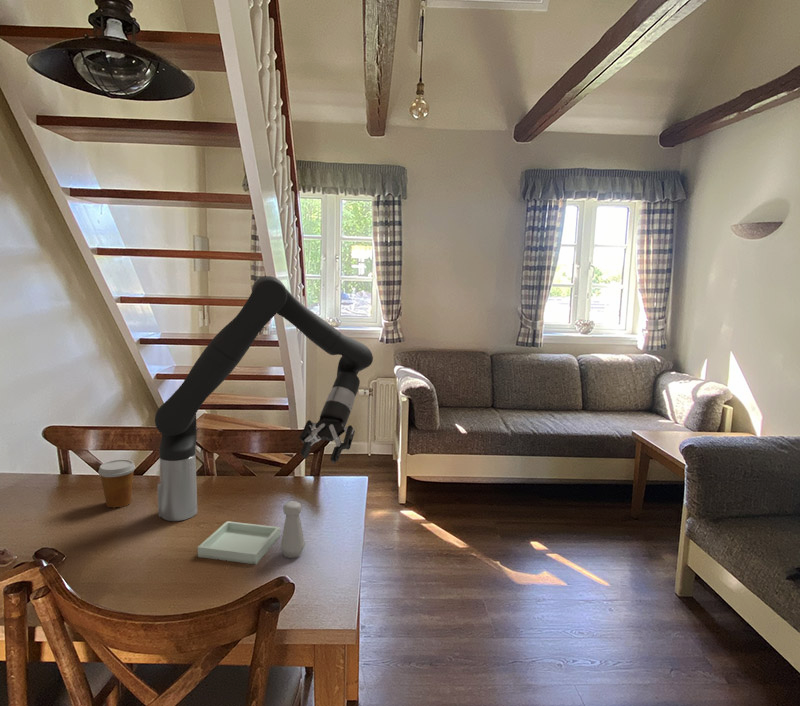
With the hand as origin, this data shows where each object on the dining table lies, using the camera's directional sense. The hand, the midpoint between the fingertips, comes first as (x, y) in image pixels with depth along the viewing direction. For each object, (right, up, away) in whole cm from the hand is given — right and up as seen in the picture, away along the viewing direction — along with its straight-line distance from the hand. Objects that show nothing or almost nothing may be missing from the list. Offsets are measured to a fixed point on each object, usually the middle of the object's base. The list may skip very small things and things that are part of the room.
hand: (318, 459), depth 139 cm
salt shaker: (-5, -22, -9) cm, 24 cm away
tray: (-19, -21, -6) cm, 28 cm away
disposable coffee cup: (-61, -17, +17) cm, 65 cm away
